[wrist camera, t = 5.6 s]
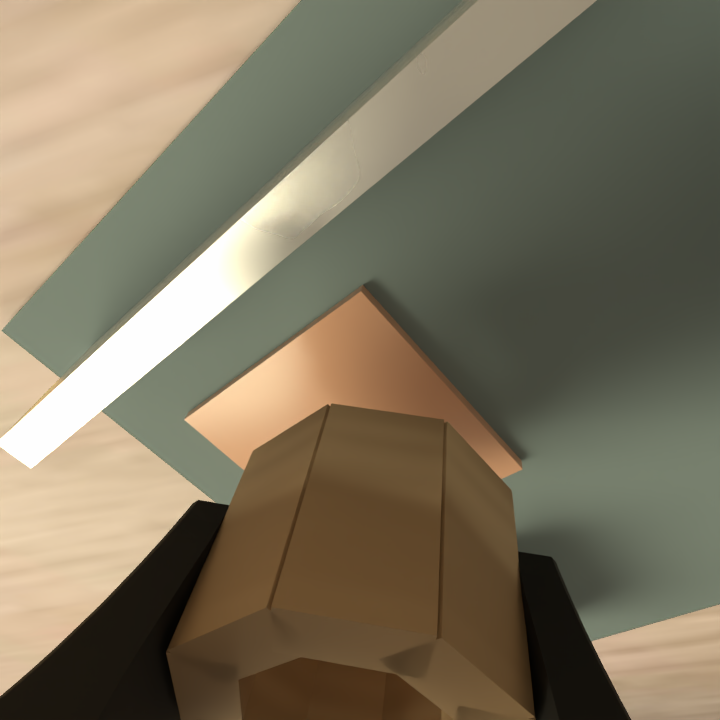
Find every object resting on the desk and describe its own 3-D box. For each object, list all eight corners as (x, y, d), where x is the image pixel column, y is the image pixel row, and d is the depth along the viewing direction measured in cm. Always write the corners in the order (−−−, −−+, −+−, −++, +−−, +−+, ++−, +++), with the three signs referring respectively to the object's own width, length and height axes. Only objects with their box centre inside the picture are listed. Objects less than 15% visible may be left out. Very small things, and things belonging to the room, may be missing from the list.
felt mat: (1116, 475, 13) (1130, 486, 12) (442, 675, 21) (442, 684, 20) (781, -524, 6) (795, -545, 6) (9, 324, 15) (1, 330, 14)
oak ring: (554, 536, 11) (593, 767, 8) (362, 610, 14) (331, 814, 10) (393, 363, 10) (359, 567, 6) (204, 481, 12) (106, 676, 9)
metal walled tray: (1010, 474, 13) (1174, 624, 10) (451, 651, 19) (450, 771, 16) (703, -225, 7) (857, -349, 5) (90, 347, 14) (-4, 443, 11)
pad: (521, 460, 14) (522, 469, 14) (342, 544, 17) (341, 552, 17) (362, 284, 12) (360, 291, 12) (188, 412, 15) (184, 419, 15)
